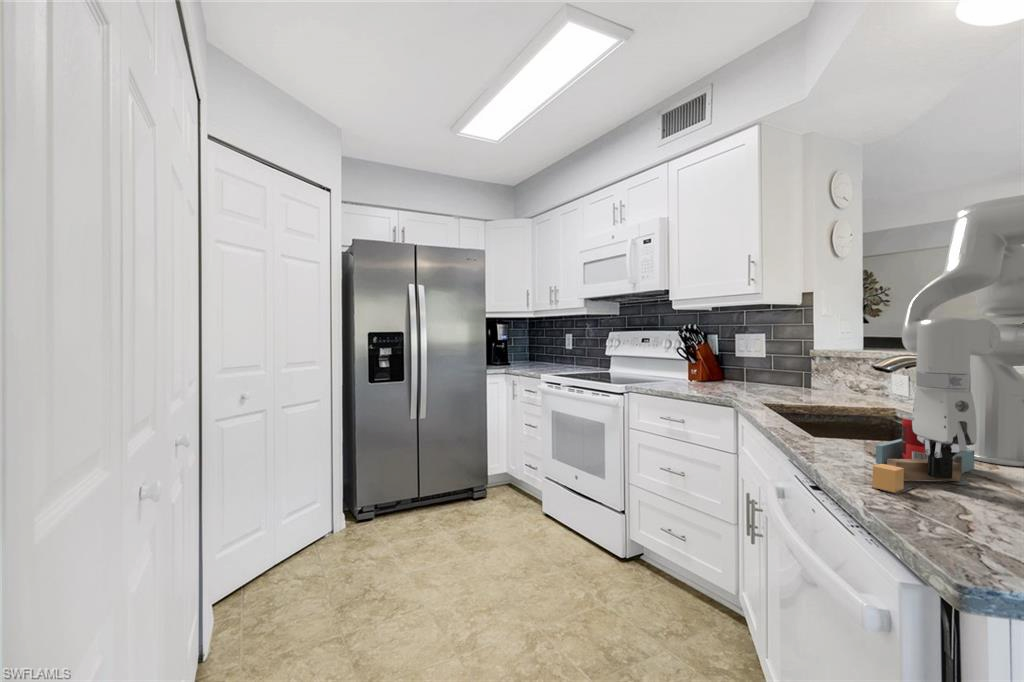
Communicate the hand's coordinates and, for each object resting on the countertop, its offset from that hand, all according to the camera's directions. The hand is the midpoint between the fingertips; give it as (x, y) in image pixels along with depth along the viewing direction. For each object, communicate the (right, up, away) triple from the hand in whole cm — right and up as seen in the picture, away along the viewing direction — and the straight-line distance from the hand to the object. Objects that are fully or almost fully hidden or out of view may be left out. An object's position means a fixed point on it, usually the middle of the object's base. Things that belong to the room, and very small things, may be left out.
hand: (939, 477), depth 89 cm
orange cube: (-11, -2, -2) cm, 12 cm away
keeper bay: (+10, -2, +14) cm, 17 cm away
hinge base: (+6, -2, +3) cm, 7 cm away
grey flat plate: (-8, -2, 0) cm, 8 cm away
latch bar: (0, -1, +3) cm, 3 cm away
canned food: (+10, -2, +14) cm, 18 cm away
